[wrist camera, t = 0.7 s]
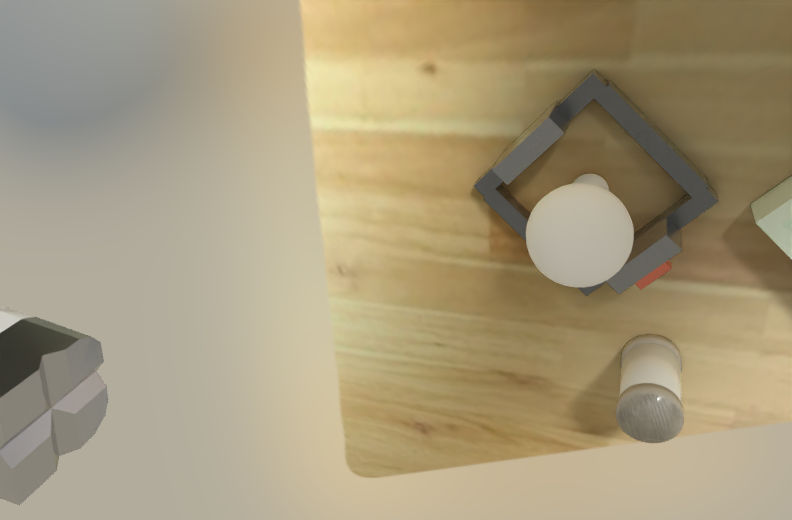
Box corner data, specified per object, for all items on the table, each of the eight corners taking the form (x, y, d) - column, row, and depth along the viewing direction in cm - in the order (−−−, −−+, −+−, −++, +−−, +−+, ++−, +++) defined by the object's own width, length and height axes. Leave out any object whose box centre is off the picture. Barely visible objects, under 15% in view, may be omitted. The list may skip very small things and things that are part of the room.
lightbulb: (643, 222, 47) (638, 303, 38) (553, 231, 49) (527, 309, 40) (632, 136, 44) (623, 200, 35) (538, 151, 47) (508, 214, 38)
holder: (594, 64, 43) (588, 79, 40) (728, 200, 44) (733, 226, 41) (473, 180, 49) (459, 200, 46) (593, 296, 50) (588, 325, 47)
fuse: (654, 324, 50) (653, 381, 44) (694, 363, 50) (698, 425, 44) (609, 353, 52) (602, 411, 46) (647, 390, 53) (645, 452, 47)
